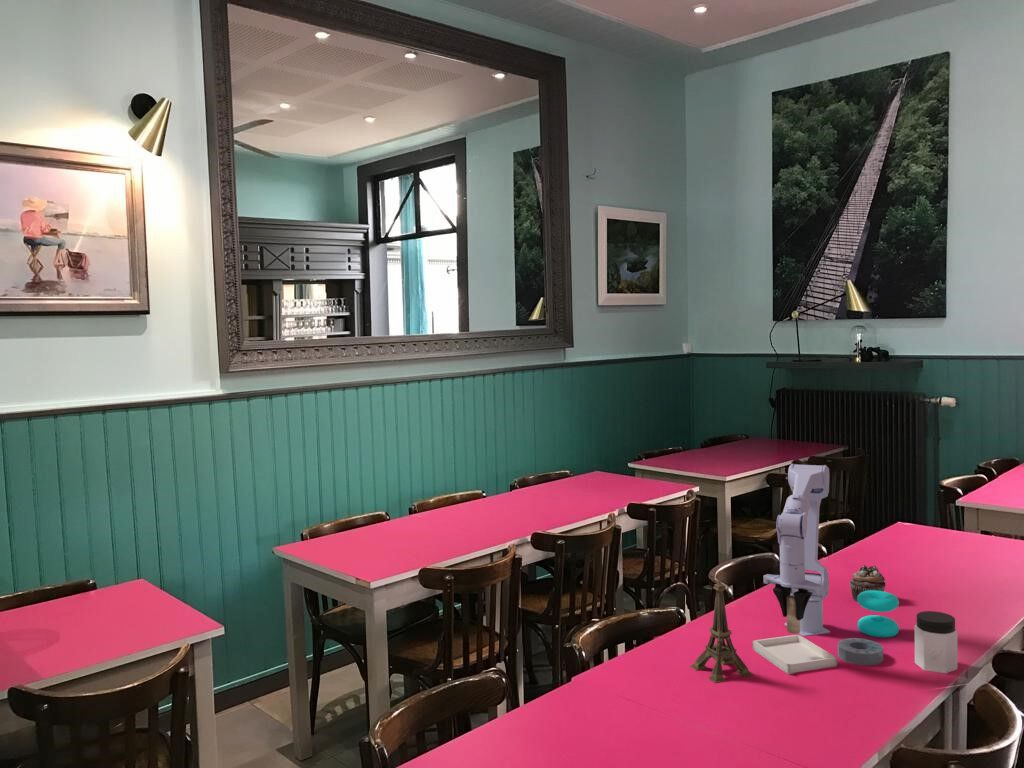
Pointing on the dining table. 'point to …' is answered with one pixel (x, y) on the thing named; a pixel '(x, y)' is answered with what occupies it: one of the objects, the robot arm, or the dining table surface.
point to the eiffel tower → (720, 643)
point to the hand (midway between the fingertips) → (793, 617)
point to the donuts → (875, 623)
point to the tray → (794, 653)
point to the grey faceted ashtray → (860, 651)
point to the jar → (936, 642)
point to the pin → (792, 616)
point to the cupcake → (866, 581)
